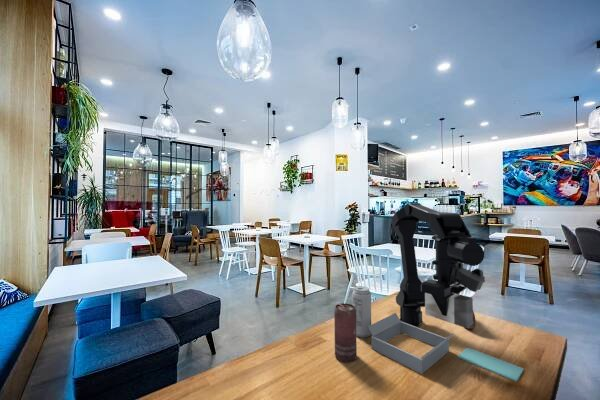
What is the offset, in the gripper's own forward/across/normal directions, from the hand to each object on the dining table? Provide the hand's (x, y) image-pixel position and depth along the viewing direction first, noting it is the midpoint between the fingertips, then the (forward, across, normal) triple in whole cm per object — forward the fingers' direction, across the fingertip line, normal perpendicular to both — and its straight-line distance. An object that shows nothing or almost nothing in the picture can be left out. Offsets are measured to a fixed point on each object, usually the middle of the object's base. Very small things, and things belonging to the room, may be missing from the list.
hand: (448, 313), depth 74 cm
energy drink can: (+12, -8, +24) cm, 28 cm away
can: (+12, -22, +18) cm, 31 cm away
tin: (+12, +26, +7) cm, 30 cm away
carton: (+12, -5, +9) cm, 16 cm away
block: (+2, 0, 0) cm, 2 cm away
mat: (+12, +5, -8) cm, 16 cm away
